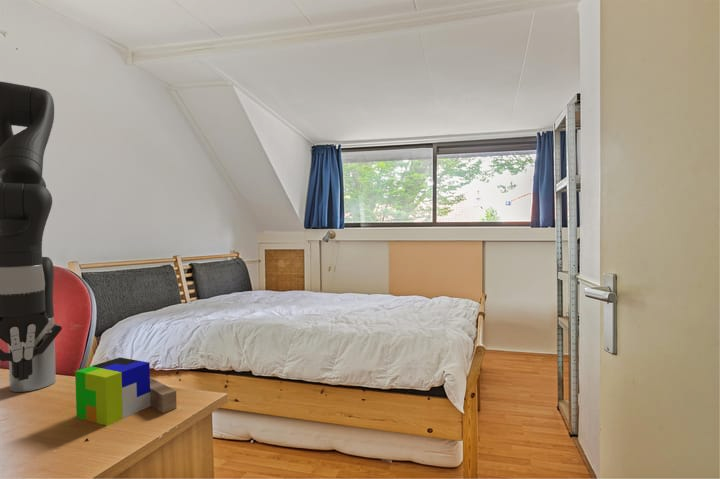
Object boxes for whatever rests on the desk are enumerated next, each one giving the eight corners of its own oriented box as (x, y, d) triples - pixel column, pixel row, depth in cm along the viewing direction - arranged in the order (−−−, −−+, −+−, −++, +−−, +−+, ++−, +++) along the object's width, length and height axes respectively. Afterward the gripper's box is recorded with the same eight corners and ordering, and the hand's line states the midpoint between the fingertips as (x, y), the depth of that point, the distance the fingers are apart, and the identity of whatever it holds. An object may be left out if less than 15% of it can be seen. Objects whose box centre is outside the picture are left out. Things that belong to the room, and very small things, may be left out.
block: (125, 390, 100) (125, 374, 100) (138, 386, 102) (138, 371, 102) (162, 413, 87) (162, 395, 87) (176, 408, 89) (176, 390, 89)
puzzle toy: (150, 406, 91) (149, 362, 91) (107, 426, 82) (106, 377, 82) (120, 399, 95) (119, 357, 95) (76, 417, 86) (75, 371, 86)
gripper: (56, 283, 83) (58, 365, 84) (-33, 291, 73) (-29, 384, 74) (67, 287, 79) (69, 373, 79) (-26, 296, 68) (-22, 396, 69)
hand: (22, 378), depth 77 cm, fingers closed
